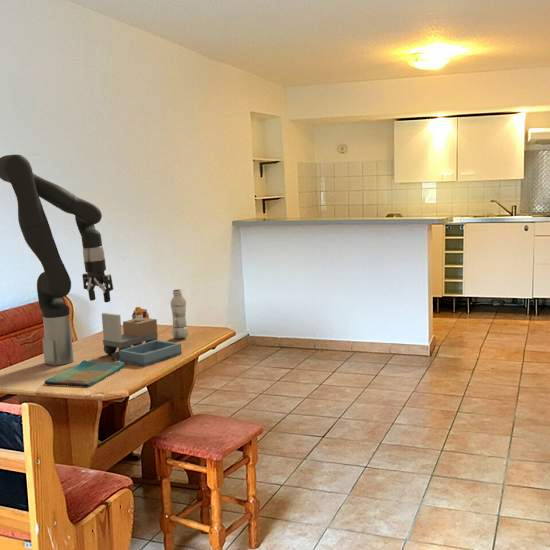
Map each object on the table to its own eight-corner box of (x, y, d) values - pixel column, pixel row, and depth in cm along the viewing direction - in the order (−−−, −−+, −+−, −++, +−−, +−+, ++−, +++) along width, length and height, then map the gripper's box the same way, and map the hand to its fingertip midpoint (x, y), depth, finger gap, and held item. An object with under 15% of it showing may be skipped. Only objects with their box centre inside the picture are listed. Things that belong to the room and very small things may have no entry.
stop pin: (140, 334, 244) (138, 308, 242) (135, 333, 245) (133, 308, 244) (145, 332, 246) (143, 307, 244) (140, 332, 247) (139, 306, 246)
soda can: (132, 338, 264) (130, 310, 262) (148, 336, 267) (146, 308, 265) (135, 341, 258) (133, 312, 256) (152, 339, 261) (150, 310, 259)
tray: (144, 366, 221) (143, 355, 220) (119, 361, 228) (118, 350, 228) (181, 354, 235) (180, 343, 234) (157, 350, 243) (156, 339, 242)
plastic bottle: (169, 340, 258) (166, 291, 255) (176, 336, 264) (173, 288, 262) (184, 340, 256) (181, 291, 253) (191, 336, 262) (188, 288, 260)
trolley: (117, 360, 230) (113, 316, 228) (98, 356, 236) (95, 314, 234) (160, 347, 247) (157, 306, 244) (141, 344, 253) (138, 304, 251)
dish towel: (127, 368, 222) (126, 361, 221) (90, 389, 199) (89, 381, 199) (83, 366, 226) (83, 359, 226) (42, 386, 204) (42, 379, 204)
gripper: (74, 260, 239) (80, 302, 242) (98, 261, 230) (104, 304, 233) (90, 256, 245) (95, 297, 248) (114, 257, 236) (120, 300, 239)
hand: (100, 301), depth 241 cm, fingers open, 8 cm apart
